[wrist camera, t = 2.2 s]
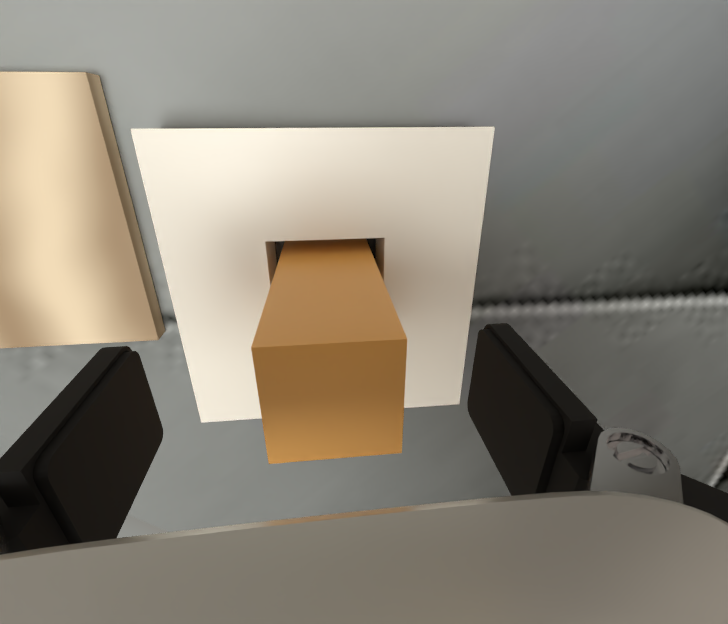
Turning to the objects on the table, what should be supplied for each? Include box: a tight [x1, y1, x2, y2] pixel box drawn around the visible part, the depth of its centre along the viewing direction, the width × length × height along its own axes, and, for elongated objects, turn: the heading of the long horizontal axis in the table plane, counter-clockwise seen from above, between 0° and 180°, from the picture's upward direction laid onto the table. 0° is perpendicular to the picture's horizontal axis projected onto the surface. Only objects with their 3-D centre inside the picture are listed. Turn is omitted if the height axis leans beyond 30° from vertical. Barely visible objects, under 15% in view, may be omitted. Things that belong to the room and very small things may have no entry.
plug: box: [251, 238, 407, 464], centre depth 16 cm, size 4×4×11 cm
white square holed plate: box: [131, 127, 495, 422], centre depth 19 cm, size 14×14×3 cm
